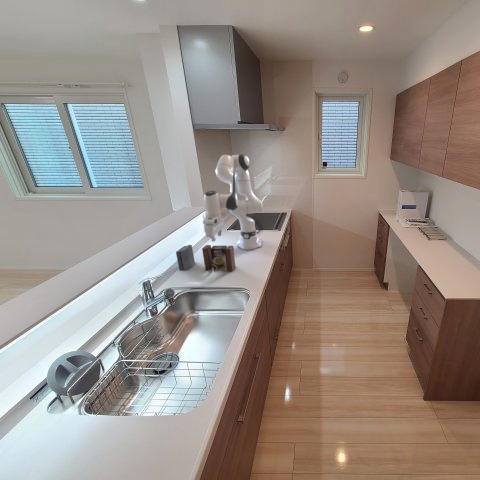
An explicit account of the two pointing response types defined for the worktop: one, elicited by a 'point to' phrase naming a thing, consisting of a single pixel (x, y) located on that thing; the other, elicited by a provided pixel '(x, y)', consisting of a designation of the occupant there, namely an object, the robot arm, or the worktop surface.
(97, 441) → the worktop surface
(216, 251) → the coffee box
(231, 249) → the brown wooden bookends
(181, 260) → the grey books
